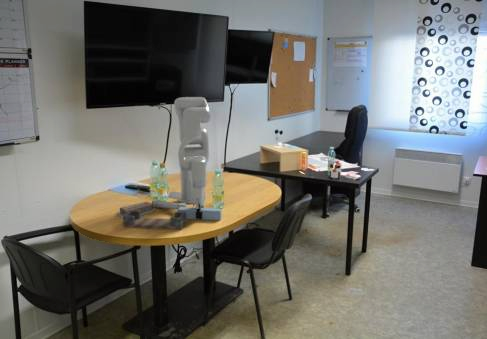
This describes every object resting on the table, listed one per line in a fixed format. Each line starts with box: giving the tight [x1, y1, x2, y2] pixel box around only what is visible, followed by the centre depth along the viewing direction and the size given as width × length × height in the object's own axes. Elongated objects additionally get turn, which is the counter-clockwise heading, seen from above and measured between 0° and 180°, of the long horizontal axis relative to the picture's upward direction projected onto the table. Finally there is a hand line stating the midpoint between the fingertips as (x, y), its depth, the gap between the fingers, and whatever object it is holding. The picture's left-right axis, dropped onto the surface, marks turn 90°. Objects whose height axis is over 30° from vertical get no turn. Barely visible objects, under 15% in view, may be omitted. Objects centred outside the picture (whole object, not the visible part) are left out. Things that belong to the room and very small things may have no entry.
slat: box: [177, 206, 223, 221], centre depth 220 cm, size 22×4×5 cm, turn 84°
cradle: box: [122, 210, 187, 231], centre depth 211 cm, size 29×10×6 cm, turn 84°
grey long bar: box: [150, 199, 187, 212], centre depth 231 cm, size 5×7×25 cm
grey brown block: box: [115, 201, 156, 219], centre depth 228 cm, size 18×5×10 cm
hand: (199, 216), depth 221 cm, fingers closed on slat, 4 cm apart
